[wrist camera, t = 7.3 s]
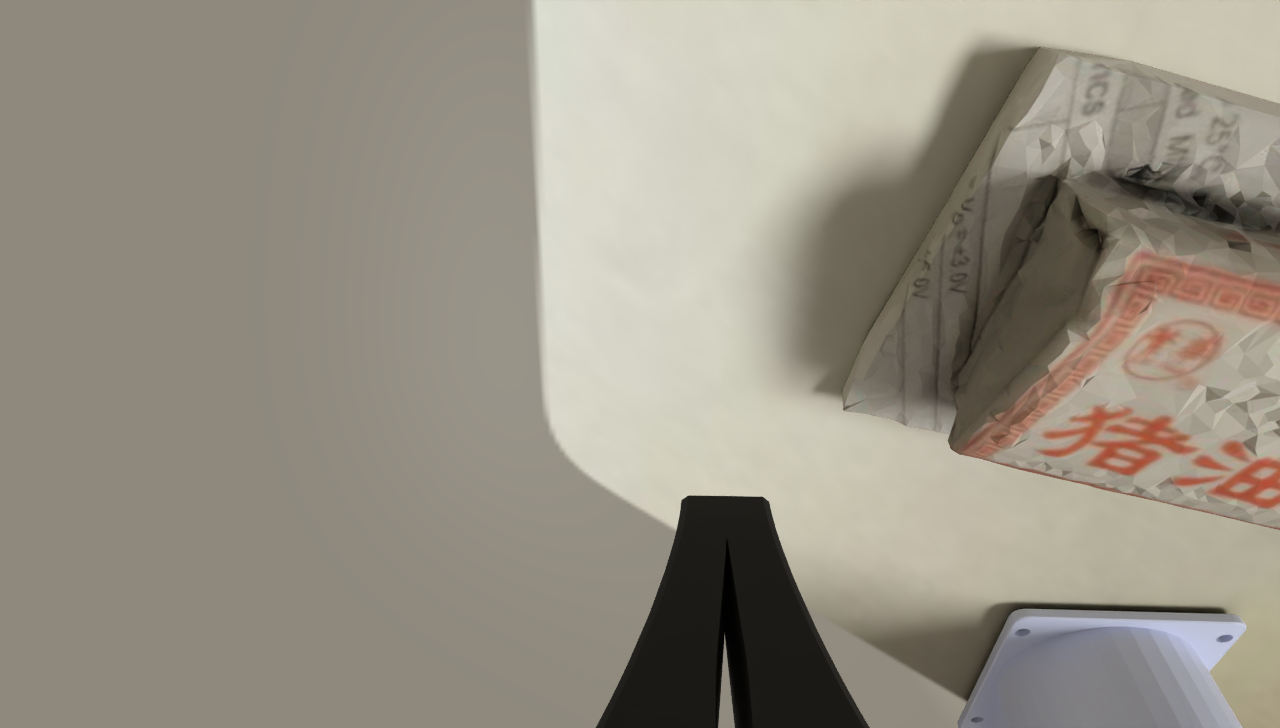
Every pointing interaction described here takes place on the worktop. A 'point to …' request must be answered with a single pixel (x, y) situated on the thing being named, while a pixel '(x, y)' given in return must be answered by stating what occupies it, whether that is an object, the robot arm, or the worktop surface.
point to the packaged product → (1102, 292)
